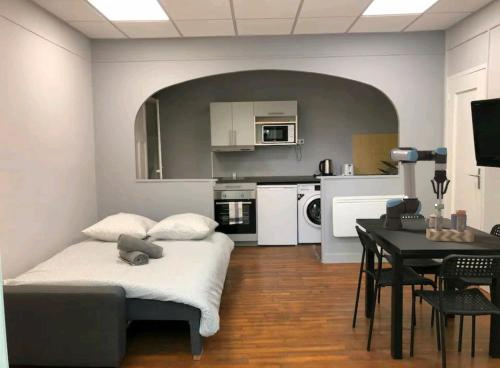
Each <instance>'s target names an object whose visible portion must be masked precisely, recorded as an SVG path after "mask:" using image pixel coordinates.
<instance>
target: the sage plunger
mask: <svg viewBox="0 0 500 368" xmlns="http://www.w3.org/2000/svg"><path fill="white" fill-rule="evenodd" d="M434 209H436V210H437V214H438V217H441V216H442V210H444V209H445V204H444V203H441V204H438V203H435V204H434Z"/></svg>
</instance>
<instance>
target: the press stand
mask: <svg viewBox="0 0 500 368" xmlns="http://www.w3.org/2000/svg"><path fill="white" fill-rule="evenodd" d="M443 224H444V216H443V215H441V217H438V216H436V217H435V228H426V229H425V230H426V231H425V232H426V233H425V234H426V235H425V236H426V239H428V241H433V242H434V241H438V242H440V241H441V242H461V243H462V242H463V243H464V242H465V243H466V242H467V243H474V241H475V233H474V232H473V231H471V230H469V229H466V230H464V229H465V217H459V216H457V230H451V228H450V229H448V228H447V229H444V228H443V227H444V226H443Z"/></svg>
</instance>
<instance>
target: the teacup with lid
mask: <svg viewBox="0 0 500 368" xmlns="http://www.w3.org/2000/svg"><path fill="white" fill-rule="evenodd" d="M436 216H438V212H434V213H433V214H430V215H429V217H427V218H425V220H424V221H425V223H426V224H427V225H428V226H429V228H431V227H435V217H436ZM427 220H429V222H428V221H427Z"/></svg>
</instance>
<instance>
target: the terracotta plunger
mask: <svg viewBox="0 0 500 368" xmlns="http://www.w3.org/2000/svg"><path fill="white" fill-rule="evenodd" d="M455 214H456V215H459V217H463V216H465V215H467V210H463V209H456V210H455Z"/></svg>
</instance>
